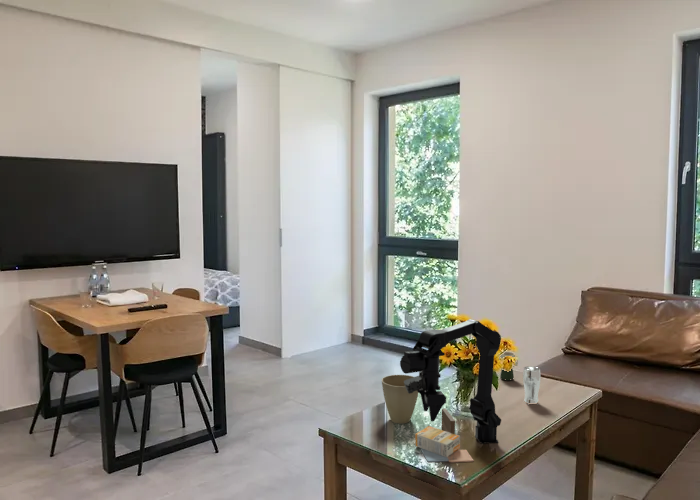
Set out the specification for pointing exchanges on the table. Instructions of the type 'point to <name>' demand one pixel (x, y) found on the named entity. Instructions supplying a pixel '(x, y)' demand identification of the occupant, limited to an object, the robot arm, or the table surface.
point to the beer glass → (531, 383)
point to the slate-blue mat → (434, 456)
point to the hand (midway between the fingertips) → (429, 415)
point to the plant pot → (398, 398)
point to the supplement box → (437, 441)
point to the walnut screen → (447, 422)
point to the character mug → (509, 374)
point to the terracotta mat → (460, 456)
